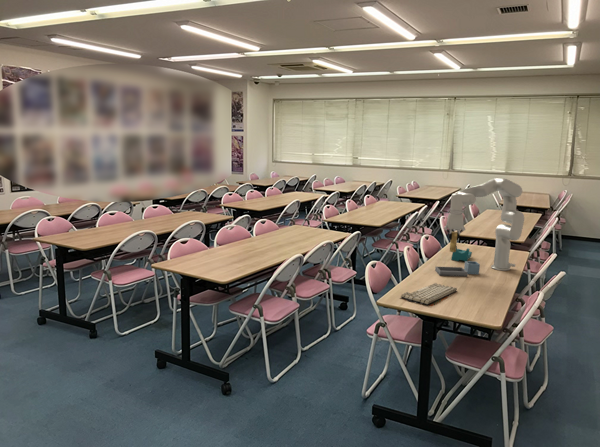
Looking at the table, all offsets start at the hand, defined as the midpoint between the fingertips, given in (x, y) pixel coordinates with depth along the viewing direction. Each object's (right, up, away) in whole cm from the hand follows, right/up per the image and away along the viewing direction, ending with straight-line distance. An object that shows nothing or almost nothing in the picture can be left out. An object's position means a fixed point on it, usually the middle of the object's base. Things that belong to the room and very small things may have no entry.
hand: (453, 239), depth 311 cm
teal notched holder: (+21, -17, +46) cm, 53 cm away
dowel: (0, -8, +1) cm, 8 cm away
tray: (-1, -23, +4) cm, 24 cm away
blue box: (+15, -23, +8) cm, 28 cm away
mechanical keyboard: (-27, -32, -41) cm, 59 cm away
